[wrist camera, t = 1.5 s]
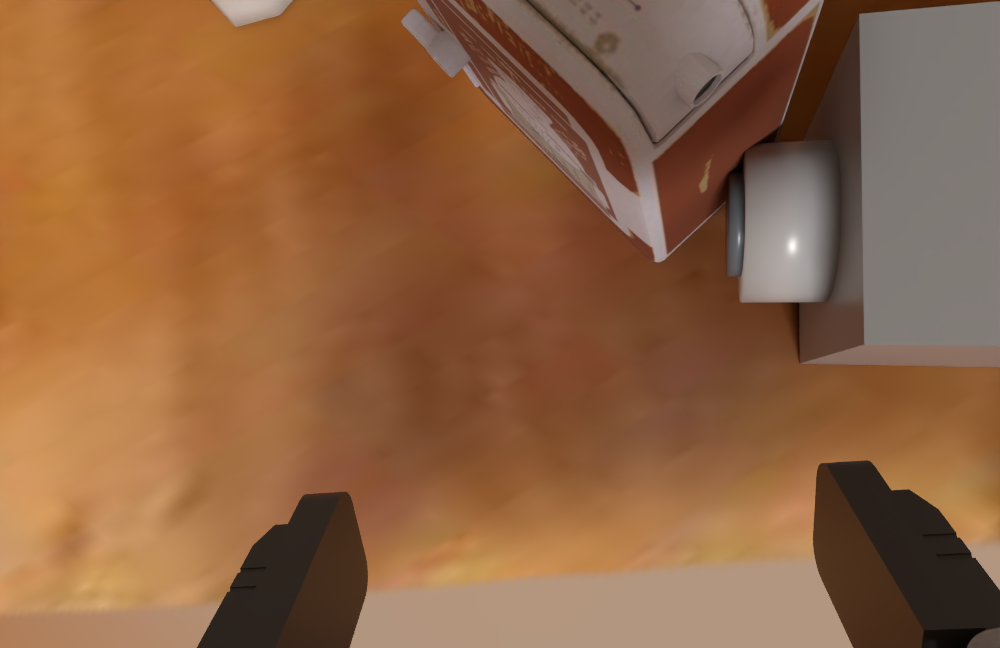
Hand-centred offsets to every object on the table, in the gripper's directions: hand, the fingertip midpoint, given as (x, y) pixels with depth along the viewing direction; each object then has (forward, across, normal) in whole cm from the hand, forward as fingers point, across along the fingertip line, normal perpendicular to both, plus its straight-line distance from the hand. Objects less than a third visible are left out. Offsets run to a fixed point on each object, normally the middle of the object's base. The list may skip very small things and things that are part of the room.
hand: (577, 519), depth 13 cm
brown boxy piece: (+29, -1, -4) cm, 29 cm away
